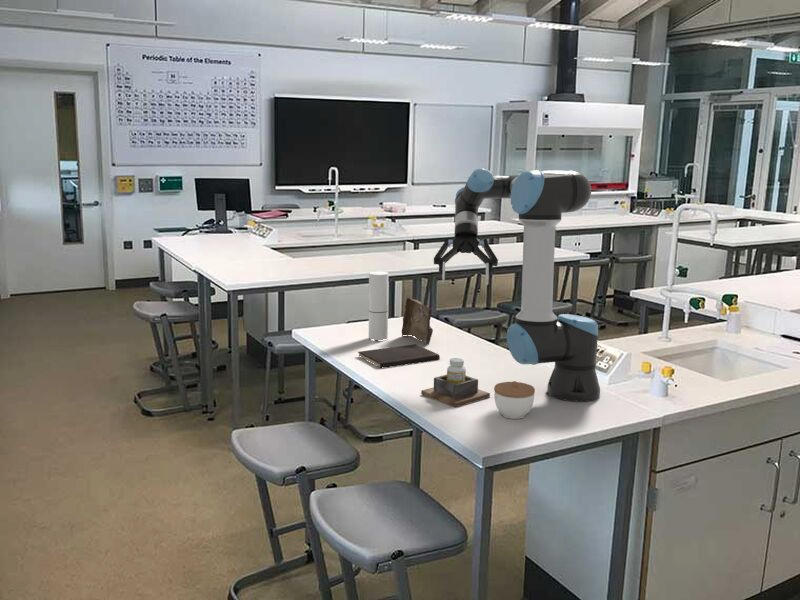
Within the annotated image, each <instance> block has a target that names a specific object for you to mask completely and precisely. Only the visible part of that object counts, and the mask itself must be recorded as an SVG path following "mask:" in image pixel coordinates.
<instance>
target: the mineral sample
mask: <svg viewBox="0 0 800 600" xmlns="http://www.w3.org/2000/svg"><path fill="white" fill-rule="evenodd" d="M404 308H405V309H404V311H403V317H402V327H401V337H402V336H403V335H412V336H415V337H416V338H417V339H419V340H422V341H421V342H423V341H425V342H424V343H425V346H426V345H427V344H428V345H429V344H430V343H431V338H432V335H433V332H434V330H433V328H432V327H431V317H432V316H431V314H432V309H431V308H429V306H426V305H425V304H424V303H423V302H421V301H420V300H418V299H413V298H409V297H407V298H406V301H405V305H404ZM419 340H418V341H419Z"/></svg>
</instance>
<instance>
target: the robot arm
mask: <svg viewBox="0 0 800 600" xmlns="http://www.w3.org/2000/svg"><path fill="white" fill-rule="evenodd" d="M591 195H592V186H591V183H590V181H589V179H588V178H587V177H586V176H585V175H584V174H582V173H581V172H579V171H574V170H552V169H551V170H547V169H546V170H545V169H544V170H543V169H535V170H526V171H525V170H524V171H523V172H521V173H520V174H517V175H501V174H500V175H494V174H493V173H492V172H491V171H490V170H488V169H486V168H481V167H479V168H476V169H474V170H473V172H472V173H471V174H470V176H468V178H467V181H466V184H465V185H464V186H463V187H461V188H459V189H458V190H457V192H456V194H455V199H454V204H455V205H454V208H455V209H454V237H453V239H450V238H449V237H445V238H444V241H443V244H442V245H441V246H440V248H439V249H438V251H437V252H436V254H435V256H434V257H433V265H438V273H439V274H442V275H441V277H442V280H441V284H445V280H446V279H445V278H446V277H445V276H446V263H447V262H449V261H450V260H451V259H452V258H453V257H454V256H456V255H458V254H459V253H460V254H465V253H466V254H471V253H472V254H473V255H475V256H476V257H478V258H479V260H480V261H482V262H483V263H484V264H485V286H488V285H489V280H490V278H489V277H490V276H492V275H493V267H497V266H498V263H499V259H498V258H497V256H496V254H495V252H494V251H493V250H492V249H493V248H491V246H490V245H489V242H488V239H487V238H486V237H485V238H484V239H483V240H479V236H478V235H479V231H478V230H479V229H478V227H479V225H478V223H479V216H478V215H479V208H480V206H481V204H482V203H483V201H485V200H486V199H495V200H496V199H497V200H498V199H510V205H511V209H512V210H513V212H515V213H516V214H517V215H518V220H519V222H520V223H521V224H522V225H523V239H522V240H523V242H522V243H523V245H522V246H523V247H522V277H521V279H522V280H521V303H520V304H521V307H520V309H521V310H520V311H519V312H518V313H517V314H515V323H512V324H511V325H509V326H508V329H507V332H506V342H507V348H508V350H509V351H508V352H510V355H511V356H512V357H511V358H513V359H514V360H515V361H516V362H517V363H518V364H520V365H534V366H535V365H538V364H547V363H554V367H553V370H552V373H551V374H550V377H549V379H548V382H547V388H546V389H547V390H546V392H547V394H548V395H550V396H552V397H553V396H554V398H555V399H559V400H563V401H570V402H590V401H594V400H597V399H599V398H600V397H601V396H600V395H601V386H600V383H599V380H598V375H597V370H596V366H597V353H598V351H597V350H598V337H599V325H598V322H597V321H596V320H594V319H592V318H589V317H587V316H583V315H582V316H581V315H577V314H568V313H567V314H566V313H560V314H558V315H556V314H555V313H554V311H553V297H554V295H553V293H554V273H555V272H554V271H555V270H554V269H555V249H556V247H555V244H556V226H557V225H558V224H559V223H560V222H561V221H562V213H563V214H565V213H566V214H567V213H574V212H577V211H579V210H581V209H582V208H583V207H585V206H586V205H587V204H588V203H589V201H590V198H591ZM451 245H453V247H452V248H451V249H449V250H448V247H449V248H450V246H451ZM479 246H481V248H483V250H484V252H483V251H482V249H480V247H479ZM447 250H448V251H447Z"/></svg>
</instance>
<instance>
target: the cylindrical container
mask: <svg viewBox="0 0 800 600" xmlns="http://www.w3.org/2000/svg"><path fill="white" fill-rule="evenodd" d="M388 318H389V272H386V271H371V272H369V273H368V339H369V338H370V339H374V340H383V339H387V338H388V335H389V332H388V330H389V322H388V321H389V319H388ZM388 339H389V338H388ZM388 339H387V340H388Z"/></svg>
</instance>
